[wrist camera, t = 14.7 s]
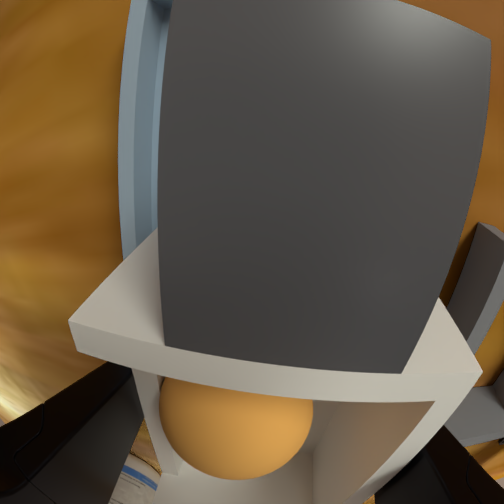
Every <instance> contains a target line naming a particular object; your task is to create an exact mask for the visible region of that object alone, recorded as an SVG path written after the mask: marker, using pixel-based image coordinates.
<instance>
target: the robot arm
mask: <svg viewBox="0 0 504 504" xmlns="http://www.w3.org/2000/svg"><path fill="white" fill-rule="evenodd" d="M143 419H144V413H143V410H142V406H141V402H140V399H139V395H138V391H137V387H136V383H135V379H134V375H133V372H132V368H130V367H126V366H123V365H119V364H116V363H112V362H109V361H107V362H106V363H104V364H103V365H101V366H100V367H98V368H97V369H95V370H94V371H92V372H90V373H89V374H87V375H86V376H84V377H83V378H81V379H79V380H78V381H76V382H75V383H73V384H72V385H70V386H69V387H67V388H65V389H64V390H62V391H61V392H59V393H58V394H56V395H54V396H53V397H51V398H50V399H48V400H47V401H45V402H44V404H43V403H42V404H40V405H38V406H37V407H35V408H34V409H32V410H30V411H29V412H27V413H25V414H24V415H22V416H20V417H19V418H17V419H15V420H13V421H11V422H9V423H7V424H5V425H3V426H1V427H0V504H109V501H110V498H111V496H112V493H113V491H114V488H115V486H116V484H117V481H118V479H119V476H120V474H121V471H122V469H123V466H124V464H125V462H126V459H127V457H128V454H129V452H130V450H131V447H132V445H133V442H134V440H135V438H136V435H137V433H138V431H139V428H140V426H141V424H142V421H143ZM498 443H499V445H502V444H504V437H503V438H501V439H500V440H499V441H498ZM469 455H470V454H469V452H468V451H467V450H466V449H465V448H464V447H463V445H462V444H461V443H460V442H459V441H458V440H457V439H456V438H455V437H454V435H453V434H452V433H451V432H450V431H449V430H448V429H447V428H446V427H445V425H444V424H443V426H442V427H441V428H440V429H439V430H438V431H437V433H436V434H435V435H434V436H433V437H432V438H431V439H430V440H429V442H428V443H427V444H426V445H425V446H424V447H423V448H422V449H421V450H420V451H419V452H418V453H417V454H416V455H415V456H414V457H413V458H412V459H411V460H410V461H409V462H408V463H407V464H406V465H405V466H404V467H403V468H402V469H401V470H400V471H399V472H398V473H397V474H396V475H395V476H394V477H393V478H392V479H391V480H389V481H388V482H387V483H386V484H385V485H384V486H383V487H382V488H380V489H379V490H378V491H377V492H376V493H375V494H374V495H375V504H504V489H503V488H502V487H501V486H500V485H499V484H498V483H497V482H496V481H495V480H494V479H493V478H492V477H491V476H490V475H489V474H488V473H487V472H486V471H485V470H484V469H483V468H482V467H481V466H480V465H479V463H478V462H477V461H476V460H475V459H474V458H473V457H472V456H471V455H470V456H469Z"/></svg>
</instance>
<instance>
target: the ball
mask: <svg viewBox="0 0 504 504" xmlns="http://www.w3.org/2000/svg"><path fill="white" fill-rule="evenodd" d="M159 416H160V421H161V425H162V428H163V431H164V433H165V436H166V438H167V440H168V442H169V443H170V445H171V446H172V448H173V449H174V450H175V452H176V453H177V454H178V455H179V456H180V457H181V458H182V459H183V460H184V461H185V462H187V463H188V464H189V465H191V466H192V467H194V468H195V469H197V470H199V471H201V472H203V473H205V474H208V475H210V476H213V477H217V478H221V479H228V480H246V479H253V478H257V477H261V476H264V475H266V474H269V473H271V472H273V471H275V470H277V469H279V468H280V467H282V466H283V465H284V464H286V463H287V462H288V461H289V460H290V459H291V458H292V457H293V456H294V455H295V454H296V453H297V452H298V451H299V449H300V448H301V447H302V445H303V444H304V442H305V440H306V438H307V436H308V433H309V430H310V427H311V424H312V418H313V400H312V399H300V398H290V397H281V396H272V395H264V394H257V393H250V392H243V391H236V390H230V389H224V388H218V387H213V386H208V385H202V384H197V383H192V382H188V381H183V380H178V379H174V378H169V377H165V379H164V382H163V385H162V388H161V393H160V397H159Z"/></svg>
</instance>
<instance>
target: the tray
mask: <svg viewBox="0 0 504 504" xmlns="http://www.w3.org/2000/svg"><path fill="white" fill-rule="evenodd" d="M172 2H173V0H131V6H130V12H129V18H128V24H127V31H126V39H125V47H124V55H123V65H122V76H121V88H120V104H119V129H118V184H119V209H120V226H121V239H122V251H123V261H124V260H125V259H126V258H127V257H128V256H129V255H130V254H131V253H132V252H133V251H134V250H135V249H136V248H137V247H138V246H139V245H140V244H141V243H142V242H143V241H144V240H145V239H146V238H147V237H148V236H149V235H150V234H151V233H152V232H153V231H154V230H155V229H156V228H157V227H158V220H157V179H158V143H159V123H160V107H161V93H162V81H163V71H164V61H165V52H166V44H167V36H168V28H169V21H170V15H171V8H172Z"/></svg>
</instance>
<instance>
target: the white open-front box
mask: <svg viewBox="0 0 504 504" xmlns="http://www.w3.org/2000/svg"><path fill="white" fill-rule="evenodd" d="M490 71H491V40H490V39H488V38H486V37H484V36H482V35H480V34H478V33H476V32H474V31H472V30H470V29H468V28H466V27H464V26H462V25H460V24H458V23H455V22H453V21H451V20H449V19H446V18H444V17H441V16H439V15H437V14H434V13H431V12H429V11H426V10H424V9H421V8H418V7H415V6H412V5H409V4H406V3H403V2H400V1H397V0H173V2H172V8H171V15H170V21H169V28H168V36H167V44H166V52H165V61H164V71H163V81H162V93H161V107H160V123H159V143H158V179H157V220H158V227H157V228H156V229H155V230H154V231H153V232H152V233H151V234H150V235H149V236H148V237H147V238H146V239H145V240H144V241H143V242H142V243H141V244H140V245H139V246H138V247H137V248H136V249H135V250H134V251H133V252H132V253H131V254H130V255H129V256H128V257H127V258H126V259H125V260H124V261H123V262H122V263H121V264H120V265H119V266H118V267H117V268H116V269H115V270H114V271H113V272H112V273H111V274H110V275H109V276H108V277H107V278H106V279H105V280H104V281H103V282H102V283H101V284H100V286H99V287H98V288H97V289H96V290H95V291H94V292H93V293H92V294H91V295H90V296H89V297H88V298H87V299H86V301H85V302H84V303H83V304H82V305H81V306H80V307H79V308H78V309H77V310H76V312H75V313H74V314H73V315H72V316H71V317H70V318H69V319H68V323H69V326H70V329H71V333H72V336H73V339H74V342H75V345H76V349H77V351H78V352H81V353H84V354H87V355H90V356H93V357H96V358H99V359H103V360H106V361H109V362H112V363H116V364H119V365H123V366H126V367H130V368H132V372H133V375H134V379H135V383H136V387H137V391H138V395H139V399H140V402H141V406H142V410H143V413H144V418H145V421H146V425H147V428H148V431H149V435H150V438H151V441H152V444H153V447H154V450H155V453H156V456H157V459H158V462H159V465H160V467H161V470H162V474H161V477H160V480H159V483H158V487H157V490H156V493H155V496H154V499H153V502H152V504H362V503H364V502H365V501H366V500H367V499H368V498H370V497H371V496H372V495H373V494H375V493H376V492H377V491H378V490H379V489H380V488H382V487H383V486H384V485H385V484H386V483H387V482H388V481H389V480H391V479H392V478H393V477H394V476H395V475H396V474H397V473H398V472H399V471H400V470H401V469H402V468H403V467H404V466H405V465H406V464H407V463H408V462H409V461H410V460H411V459H412V458H413V457H414V456H415V455H416V454H417V453H418V452H419V451H420V450H421V449H422V448H423V447H424V446H425V445H426V444H427V443H428V442H429V440H430V439H431V438H432V437H433V436H434V435H435V434H436V433H437V431H438V430H439V429H440V428H441V427H442V426H443V424H444V423H445V422H446V421H447V420H448V418H449V417H450V416H451V415H452V414H453V412H454V411H455V410H456V408H457V407H458V406H459V405H460V403H461V402H462V401H463V399H464V398H465V397H466V395H467V394H468V393H469V391H470V390H471V388H472V387H473V386H474V384H475V383H476V381H477V380H478V378H479V377H480V375H481V374H482V373H483V371H482V369H481V367H480V365H479V364H478V362H477V360H476V358H475V356H474V355H473V353H472V351H471V349H470V347H469V346H468V344H467V342H466V341H465V339H464V337H463V335H462V334H461V332H460V330H459V329H458V327H457V326H456V324H455V322H454V321H453V319H452V317H451V316H450V314H449V313H448V311H447V309H446V308H445V306H444V305H443V303H442V302H441V300H440V299H439V294H440V292H441V290H442V287H443V284H444V282H445V279H446V277H447V274H448V271H449V269H450V266H451V263H452V260H453V258H454V255H455V252H456V249H457V246H458V243H459V240H460V237H461V233H462V230H463V227H464V223H465V220H466V216H467V213H468V209H469V206H470V202H471V198H472V194H473V190H474V186H475V181H476V177H477V172H478V167H479V162H480V157H481V152H482V146H483V140H484V133H485V126H486V119H487V110H488V100H489V88H490ZM165 377H169V378H174V379H178V380H183V381H188V382H192V383H197V384H202V385H208V386H213V387H218V388H224V389H230V390H236V391H243V392H250V393H257V394H264V395H272V396H281V397H290V398H300V399H312V400H313V418H312V424H311V427H310V430H309V433H308V436H307V438H306V440H305V442H304V444H303V445H302V447H301V448H300V449H299V451H298V452H297V453H296V454H295V455H294V456H293V457H292V458H291V459H290V460H289V461H288V462H287V463H286V464H284V465H283V466H282V467H280V468H279V469H277V470H275V471H273V472H271V473H269V474H266V475H264V476H261V477H257V478H253V479H246V480H228V479H221V478H217V477H213V476H210V475H208V474H205V473H203V472H201V471H199V470H197V469H195V468H194V467H192V466H191V465H189V464H188V463H187V462H185V461H184V460H183V459H182V458H181V457H180V456H179V455H178V454H177V453H176V452H175V450H174V449H173V448H172V446H171V445H170V443H169V442H168V440H167V438H166V436H165V433H164V431H163V428H162V425H161V421H160V416H159V397H160V393H161V388H162V385H163V382H164V379H165Z"/></svg>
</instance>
